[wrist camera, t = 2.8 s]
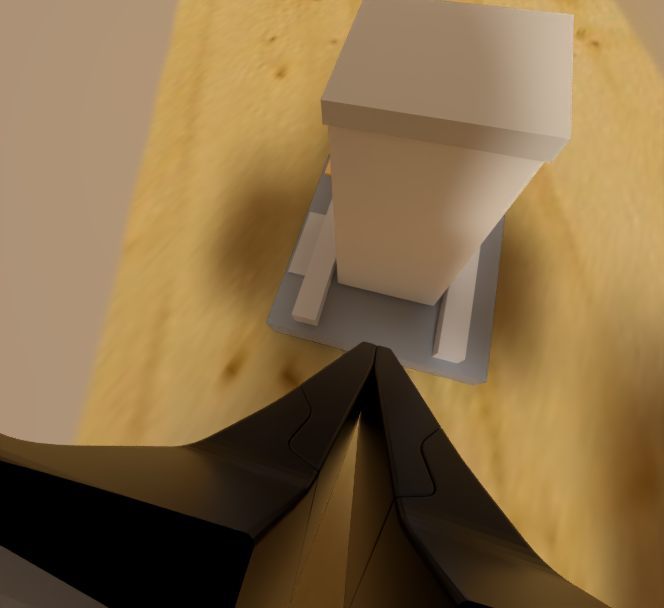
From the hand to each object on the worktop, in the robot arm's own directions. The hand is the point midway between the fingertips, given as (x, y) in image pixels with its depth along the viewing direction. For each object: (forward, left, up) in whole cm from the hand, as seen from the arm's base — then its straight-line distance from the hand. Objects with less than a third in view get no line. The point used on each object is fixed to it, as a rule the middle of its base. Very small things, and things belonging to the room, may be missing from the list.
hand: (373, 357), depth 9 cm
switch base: (+8, +5, -7) cm, 12 cm away
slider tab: (+6, +3, -6) cm, 9 cm away
